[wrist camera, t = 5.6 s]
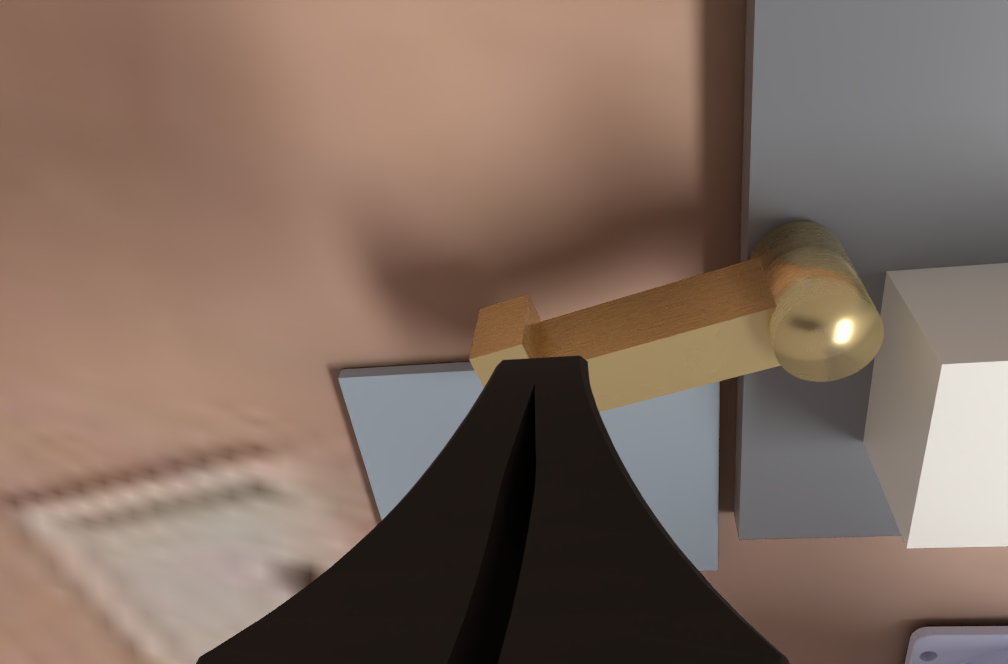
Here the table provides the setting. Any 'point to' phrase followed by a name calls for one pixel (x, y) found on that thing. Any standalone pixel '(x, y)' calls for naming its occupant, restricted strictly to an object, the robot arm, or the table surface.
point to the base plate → (860, 213)
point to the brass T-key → (706, 324)
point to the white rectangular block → (943, 405)
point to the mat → (632, 428)
